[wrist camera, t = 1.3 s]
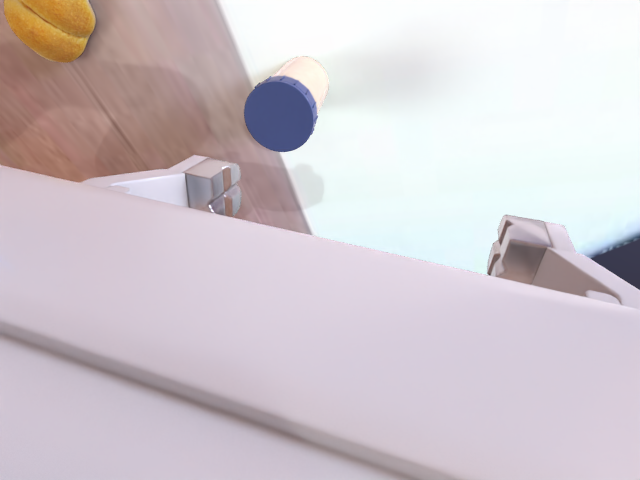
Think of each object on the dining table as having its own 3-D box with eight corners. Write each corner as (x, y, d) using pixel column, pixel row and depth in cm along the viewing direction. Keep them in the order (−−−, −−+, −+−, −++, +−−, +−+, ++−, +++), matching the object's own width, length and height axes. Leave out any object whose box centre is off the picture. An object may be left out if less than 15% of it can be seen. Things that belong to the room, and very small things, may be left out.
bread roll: (109, 2, 41) (85, 7, 38) (79, 71, 45) (55, 80, 42) (31, -64, 38) (-2, -66, 35) (8, 16, 43) (-23, 21, 40)
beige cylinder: (283, 111, 44) (255, 148, 36) (274, 58, 41) (242, 85, 33) (331, 108, 43) (315, 145, 35) (326, 53, 40) (307, 80, 32)
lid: (257, 145, 37) (251, 154, 36) (243, 78, 34) (236, 84, 32) (321, 142, 36) (317, 150, 35) (313, 72, 33) (309, 78, 31)
